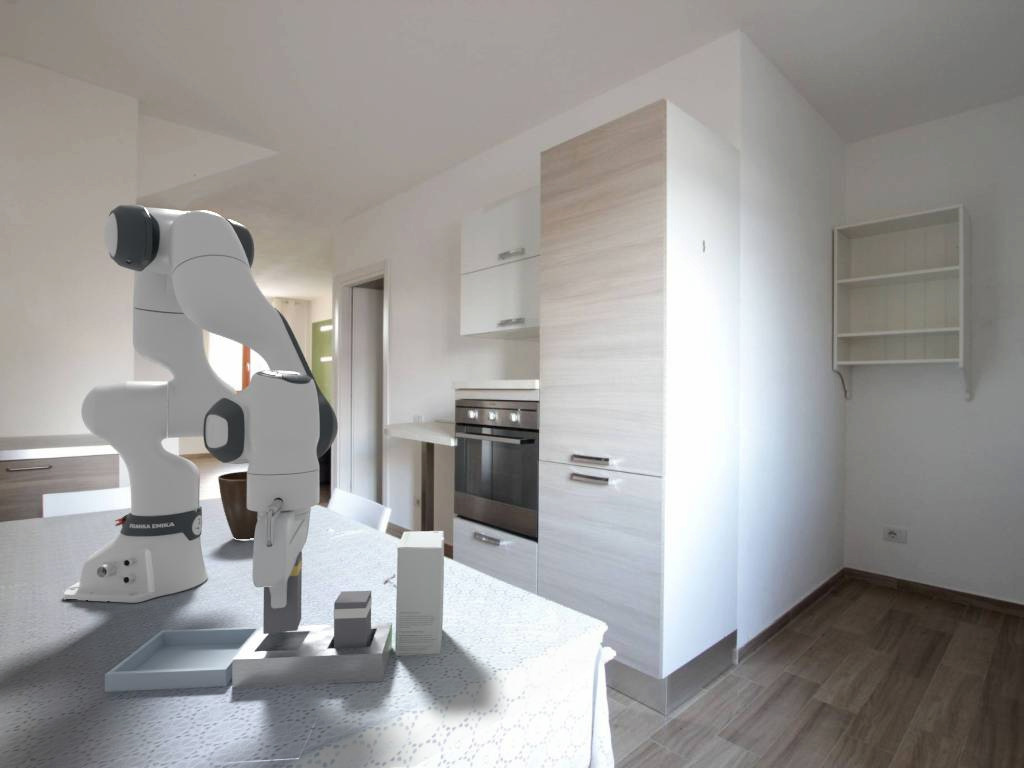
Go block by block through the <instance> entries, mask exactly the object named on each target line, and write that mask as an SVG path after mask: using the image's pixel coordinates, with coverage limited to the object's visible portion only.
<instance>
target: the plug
mask: <svg viewBox="0 0 1024 768" xmlns="http://www.w3.org/2000/svg"><path fill="white" fill-rule="evenodd" d="M302 568H303V550H302V551H300V553H299V555H298V557H297V559H296V563H295V566H294V568H293V570H292V572H291V574H290V576H289V578H288V580H287V589H288V601H287V604H286V606H285V607H283V608H275V609H274V608H272V607H271V594H270V590H269V587H263V621H262V622H263V626H262V627H263V634H269V633H278V632H288V631H297V629H298V626H300V623H301V620H302V589H303V588H302V586H303V585H302V582H303V581H302V580H303V579H302V575H303V574H302V573H303V569H302Z"/></svg>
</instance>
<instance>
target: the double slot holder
mask: <svg viewBox="0 0 1024 768" xmlns="http://www.w3.org/2000/svg"><path fill="white" fill-rule="evenodd" d="M260 627H261V628H260V629H259V630H258V631H257V632H256V633H255V635H254V636H253V637H252V638H251V639H250V640H249V641H248V643H247V644H246V645H245V646H244V647H243V648H242V649H241V650H240V652H239V653H238V654H237V655H236V656H235V657H234V658H233V667H232V679H231V680H232V682H231V686H232V687H231V688H232V689H239V688H240V689H241V688H258V687H259V688H261V687H262V688H264V687H280V686H281V687H283V686H286V687H287V686H301V685H303V686H305V685H324V684H327V685H328V684H332V685H342V684H344V685H345V684H363V683H364V684H366V683H367V684H369V683H382V682H383V680H384V676H385V673H386V669H387V665H388V663H389V659H390V655H391V652H392V648H393V622H373V623H372V622H371V646H370V647H359V648H334V624H315V625H313V624H311V625H309V624H308V625H299V626H298V629H297V631H288V632H278V633H269V634H263V626H260Z"/></svg>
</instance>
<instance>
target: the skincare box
mask: <svg viewBox="0 0 1024 768" xmlns="http://www.w3.org/2000/svg"><path fill="white" fill-rule="evenodd" d="M396 561H397V563H396V564H397V565H396V601H395V602H396V604H395V607H396V608H395V609H396V610H395V642H394V643H395V644H394V645H395V648H394V649H395V650H394V652H395V653H394V655H395V656H412V655H413V656H415V655H416V656H417V655H434V654H435V655H436V654H440V653H441V649H442V639H443V623H444V622H443V620H444V586H445V583H444V582H445V576H444V575H445V571H444V570H445V531H444V530H429V531H428V530H427V531H426V530H425V531H423V530H422V531H419V530H418V531H416V530H415V531H411V530H410V531H403V533H402V535H401V537H400V540H399V542H398V545H397V560H396Z"/></svg>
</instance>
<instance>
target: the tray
mask: <svg viewBox="0 0 1024 768" xmlns="http://www.w3.org/2000/svg"><path fill="white" fill-rule="evenodd" d="M261 627H262V626H246V627H245V626H244V627H243V626H242V627H218V628H216V627H215V628H195V629H194V628H191V629H165V630H160V631H159V632H158V633H157V634H155V635H154V636H153V637H151V638H150V639H149V640H147V641H146V642H145V643H143V644H142V645H141V646H140V647H138V648H137V649H136V650H135V651H133V652H132V653H131V654H129V655H128V656H127V657H125V658H124V659H123V660H122V661H120V662H119V663H118V664H117V665H115V666H114V667H112V669H110V670H108V672H106V673H105V674H104V692H109V693H110V692H126V691H127V692H128V691H146V690H147V691H149V690H151V691H153V690H167V689H168V690H169V689H188V688H189V689H192V688H194V689H195V688H211V687H213V688H214V687H226V686H227V685H228V684H229V683H230V682H231V680H232V667H233V658H234V657H235V656H236V655H237V654H238V653H239V652H240V650H241V649H242V648H243V647H244V646H245V645H246V644H247V643H248V641H249V640H250V639H251V638H252V637H253V636H254V635H255V633H256V632H257V631H258V630H259V629H260V628H261Z"/></svg>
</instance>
